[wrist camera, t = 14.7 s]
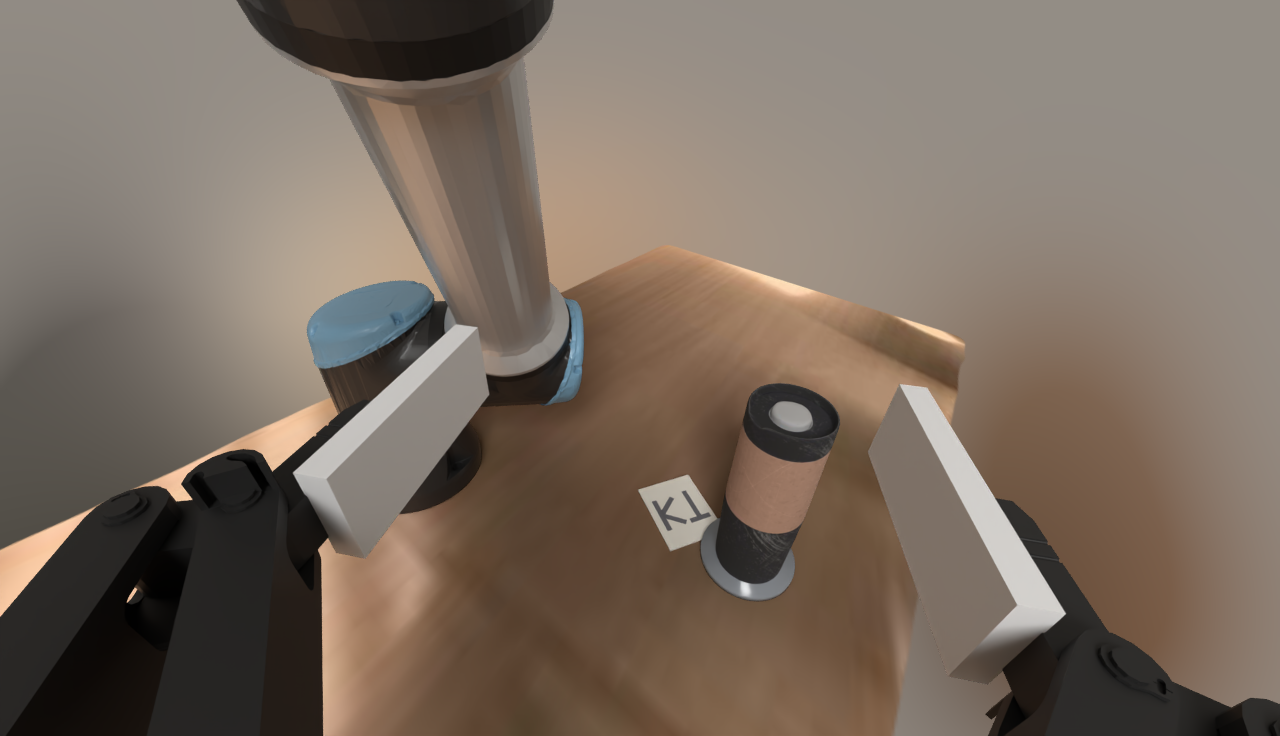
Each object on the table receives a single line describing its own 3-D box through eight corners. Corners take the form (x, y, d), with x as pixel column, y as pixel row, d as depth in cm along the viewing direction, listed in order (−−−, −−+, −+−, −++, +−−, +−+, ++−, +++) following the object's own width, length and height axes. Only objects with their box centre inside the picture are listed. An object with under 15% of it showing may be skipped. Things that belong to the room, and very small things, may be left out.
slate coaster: (684, 533, 51) (684, 529, 50) (757, 507, 54) (758, 504, 54) (732, 616, 43) (733, 613, 43) (813, 580, 47) (815, 577, 46)
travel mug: (790, 539, 50) (845, 397, 39) (776, 600, 44) (838, 453, 33) (723, 513, 53) (758, 373, 41) (703, 567, 47) (737, 420, 36)
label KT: (638, 490, 56) (638, 489, 55) (687, 475, 58) (687, 474, 58) (670, 551, 49) (670, 550, 49) (725, 531, 51) (725, 530, 51)
